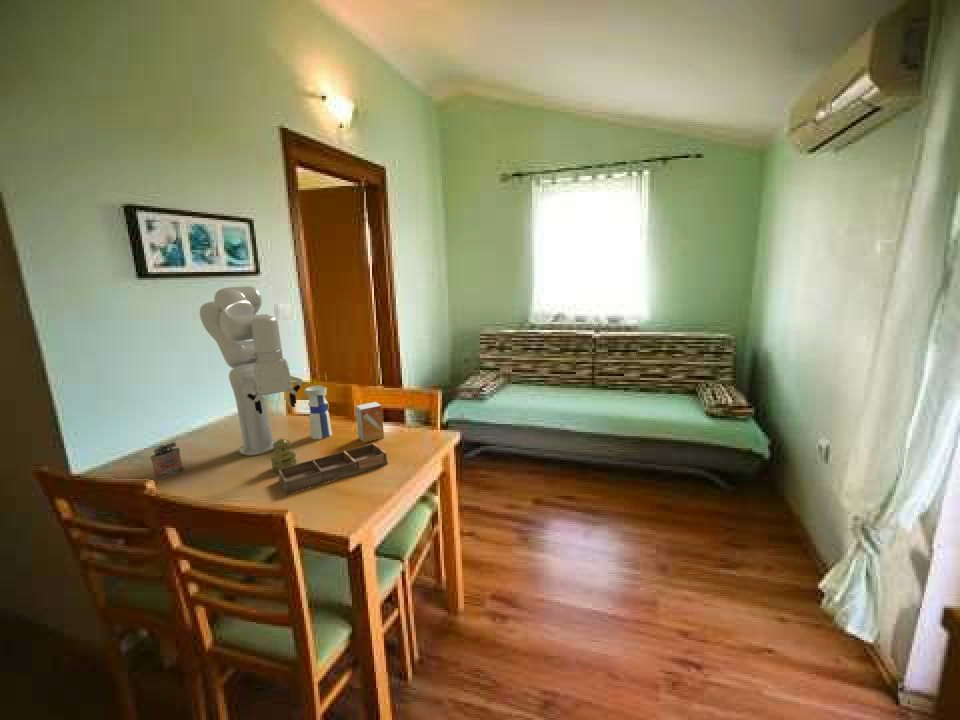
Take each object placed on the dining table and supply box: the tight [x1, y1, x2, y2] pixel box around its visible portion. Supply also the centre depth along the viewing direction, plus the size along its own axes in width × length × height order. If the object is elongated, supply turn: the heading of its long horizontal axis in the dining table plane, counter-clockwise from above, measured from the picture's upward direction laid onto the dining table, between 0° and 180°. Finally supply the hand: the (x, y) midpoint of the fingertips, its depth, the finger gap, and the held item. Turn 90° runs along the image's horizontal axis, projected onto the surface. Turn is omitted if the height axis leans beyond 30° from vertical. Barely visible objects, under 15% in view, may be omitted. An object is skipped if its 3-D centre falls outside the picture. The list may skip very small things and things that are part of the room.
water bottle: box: [304, 373, 333, 440], centre depth 167 cm, size 8×8×25 cm
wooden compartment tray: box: [278, 442, 389, 495], centre depth 137 cm, size 11×31×4 cm, turn 125°
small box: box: [355, 401, 385, 444], centre depth 163 cm, size 8×6×13 cm
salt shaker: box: [270, 438, 298, 474], centre depth 141 cm, size 7×7×10 cm
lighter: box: [150, 442, 184, 480], centre depth 140 cm, size 8×3×10 cm, turn 148°
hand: (276, 409), depth 138 cm, fingers open, 9 cm apart
